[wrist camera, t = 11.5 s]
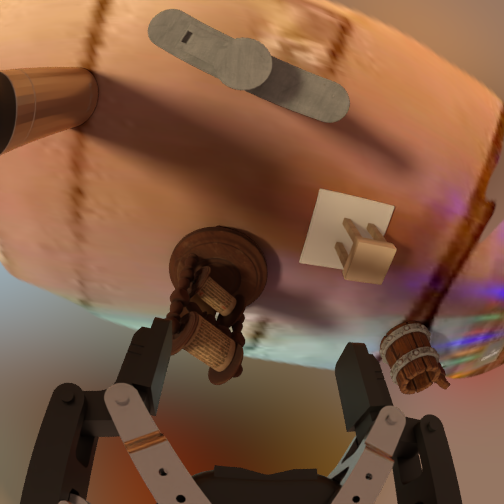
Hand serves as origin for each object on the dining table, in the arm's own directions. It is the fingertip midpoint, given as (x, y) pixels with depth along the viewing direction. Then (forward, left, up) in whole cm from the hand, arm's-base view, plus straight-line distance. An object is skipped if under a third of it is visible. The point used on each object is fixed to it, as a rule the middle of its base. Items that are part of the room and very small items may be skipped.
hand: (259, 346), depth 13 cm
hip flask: (-3, +12, -30) cm, 33 cm away
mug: (+38, -28, -30) cm, 56 cm away
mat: (+15, -7, -30) cm, 34 cm away
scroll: (-3, -16, -30) cm, 34 cm away
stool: (+16, -7, -30) cm, 34 cm away
